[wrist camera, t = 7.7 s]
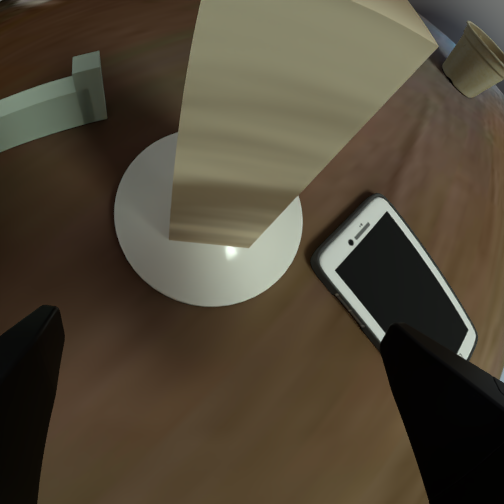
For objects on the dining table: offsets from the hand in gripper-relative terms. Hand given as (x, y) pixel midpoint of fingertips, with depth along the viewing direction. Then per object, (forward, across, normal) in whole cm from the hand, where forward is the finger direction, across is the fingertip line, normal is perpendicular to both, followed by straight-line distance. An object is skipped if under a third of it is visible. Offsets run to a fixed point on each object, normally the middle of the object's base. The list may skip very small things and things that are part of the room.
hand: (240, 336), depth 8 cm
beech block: (+10, 0, 0) cm, 10 cm away
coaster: (+10, 0, +1) cm, 10 cm away
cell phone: (+7, -13, +5) cm, 16 cm away
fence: (+13, +13, -2) cm, 19 cm away
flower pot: (+28, -31, -18) cm, 45 cm away
